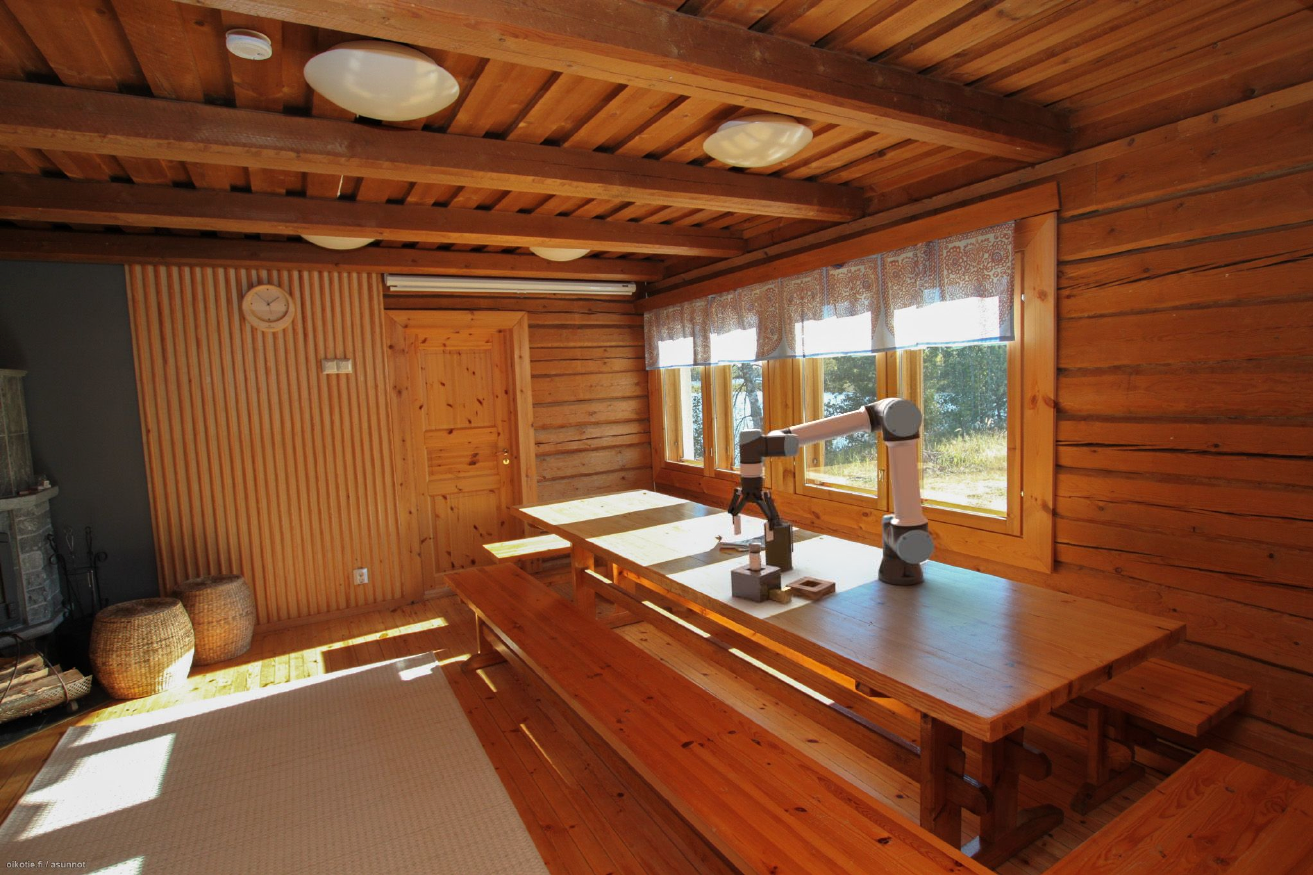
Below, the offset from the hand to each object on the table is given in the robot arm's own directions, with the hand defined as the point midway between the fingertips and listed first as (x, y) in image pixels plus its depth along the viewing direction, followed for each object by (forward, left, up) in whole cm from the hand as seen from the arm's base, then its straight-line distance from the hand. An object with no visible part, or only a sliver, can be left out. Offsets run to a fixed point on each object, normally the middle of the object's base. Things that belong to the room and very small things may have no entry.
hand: (753, 537), depth 230 cm
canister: (+12, -30, -20) cm, 38 cm away
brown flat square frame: (-13, -13, -20) cm, 27 cm away
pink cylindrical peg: (0, 0, -16) cm, 16 cm away
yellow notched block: (-7, 0, -20) cm, 21 cm away
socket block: (0, 0, -20) cm, 20 cm away
